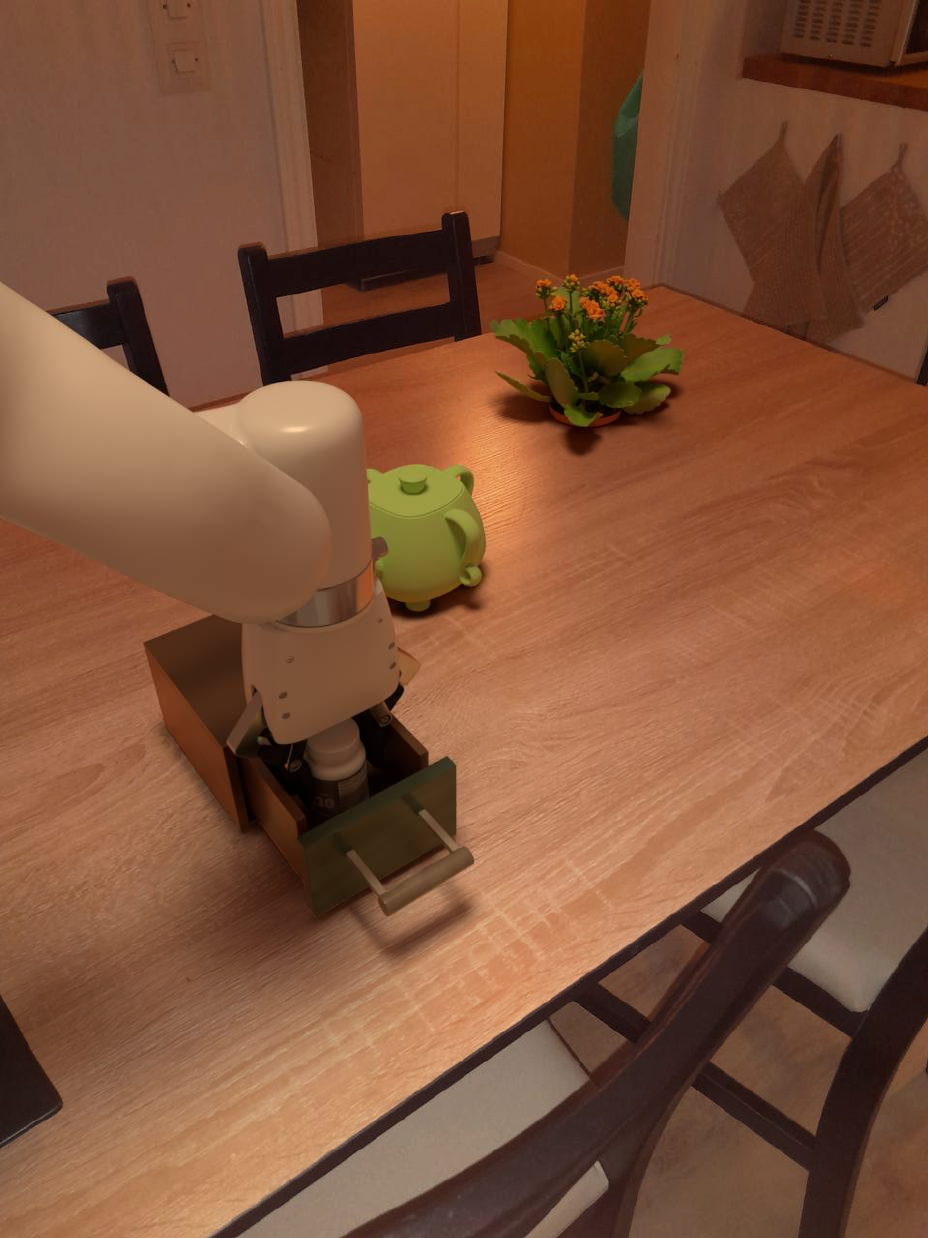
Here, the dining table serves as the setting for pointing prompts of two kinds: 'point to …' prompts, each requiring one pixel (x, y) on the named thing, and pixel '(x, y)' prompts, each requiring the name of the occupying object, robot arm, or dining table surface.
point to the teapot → (425, 531)
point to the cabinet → (205, 702)
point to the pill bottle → (337, 770)
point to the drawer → (366, 826)
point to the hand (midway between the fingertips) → (336, 773)
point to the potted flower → (591, 352)
